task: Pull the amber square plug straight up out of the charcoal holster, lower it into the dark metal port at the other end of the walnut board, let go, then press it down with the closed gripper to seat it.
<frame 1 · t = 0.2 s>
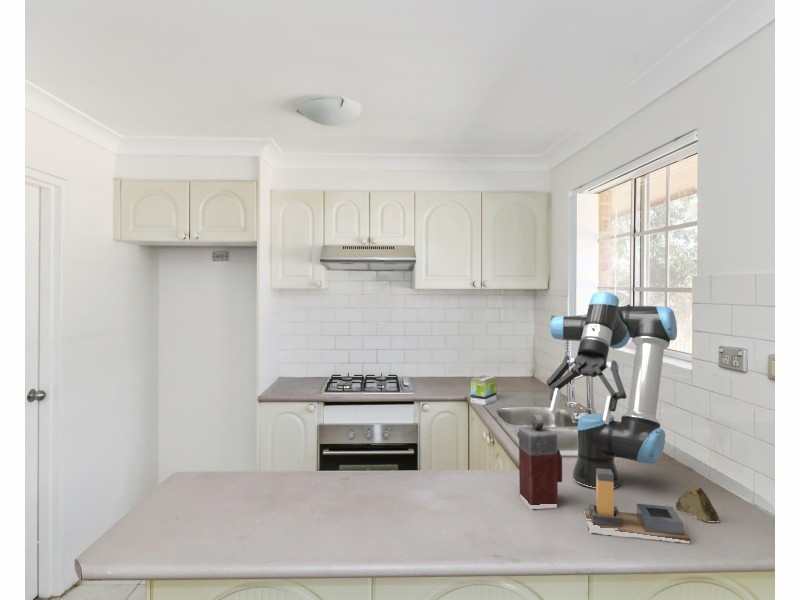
hand: (578, 417, 123), 35 cm above the worktop, tool tilted 35°, fingers open, 13 cm apart
red rectangular canister: (541, 503, 151), on the worktop
rock: (696, 516, 141), on the worktop
tea box: (483, 402, 284), on the worktop
plug: (605, 519, 136), point 1 cm above the worktop, touching board
port: (659, 525, 133), resting on board
board: (633, 527, 134), on the worktop
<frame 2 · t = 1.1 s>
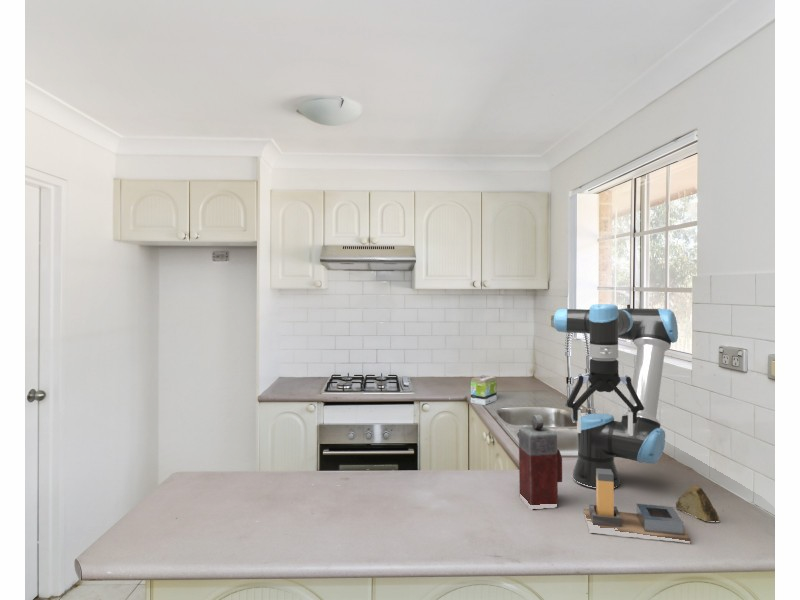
hand: (604, 433, 135), 27 cm above the worktop, tool pointing down, fingers open, 13 cm apart
nothing on the worktop moved.
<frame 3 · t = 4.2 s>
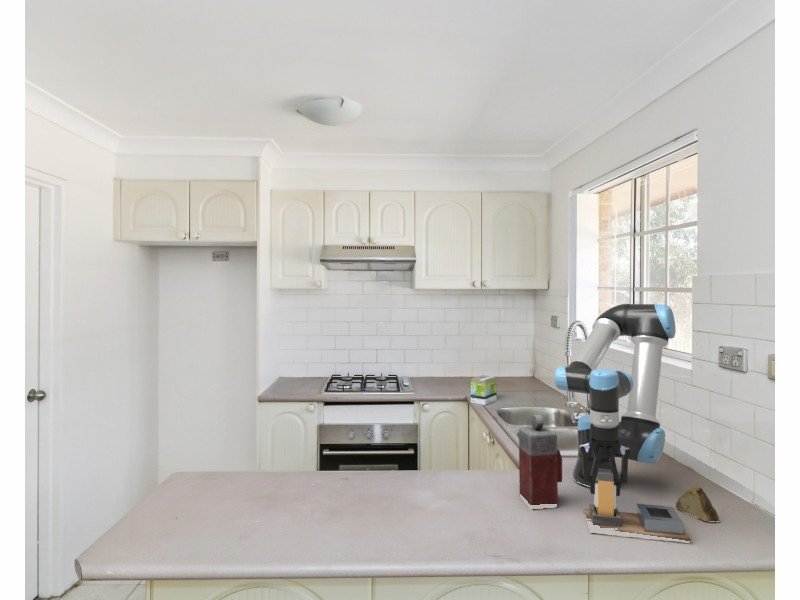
hand: (604, 505, 136), 6 cm above the worktop, tool pointing down, fingers closed on plug, 4 cm apart
plug: (605, 519, 136), point 2 cm above the worktop, touching board, gripper
everything else where it was.
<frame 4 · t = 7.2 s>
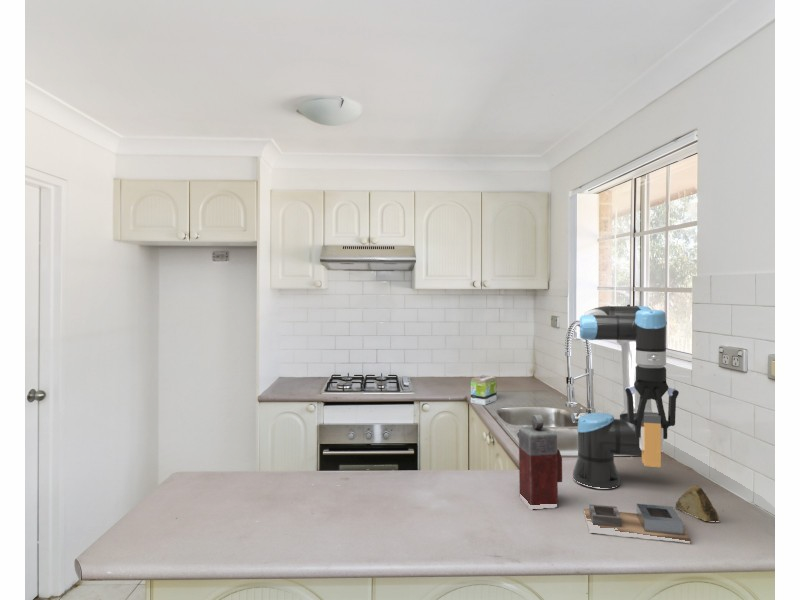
hand: (651, 449, 132), 23 cm above the worktop, tool pointing down, fingers closed on plug, 4 cm apart
plug: (651, 464, 132), point 19 cm above the worktop, touching gripper
everything else where it was.
when the fingers open (7 cm above the worktop, at t = 10.6 s): plug drops 1 cm, resting on board.
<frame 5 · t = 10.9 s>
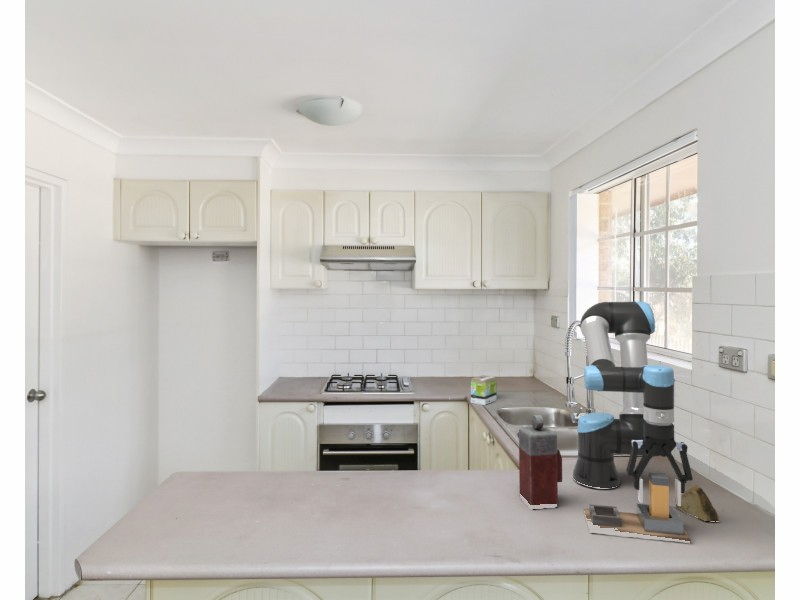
hand: (658, 502, 133), 8 cm above the worktop, tool pointing down, fingers open, 9 cm apart
plug: (658, 525, 133), point 2 cm above the worktop, touching board
everything else where it was.
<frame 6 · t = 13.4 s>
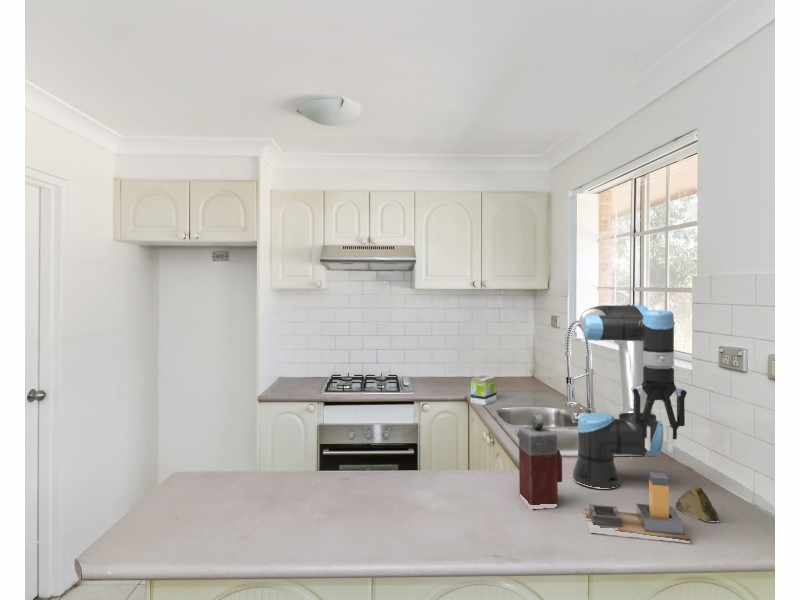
hand: (658, 449, 132), 23 cm above the worktop, tool pointing down, fingers open, 5 cm apart
nothing on the worktop moved.
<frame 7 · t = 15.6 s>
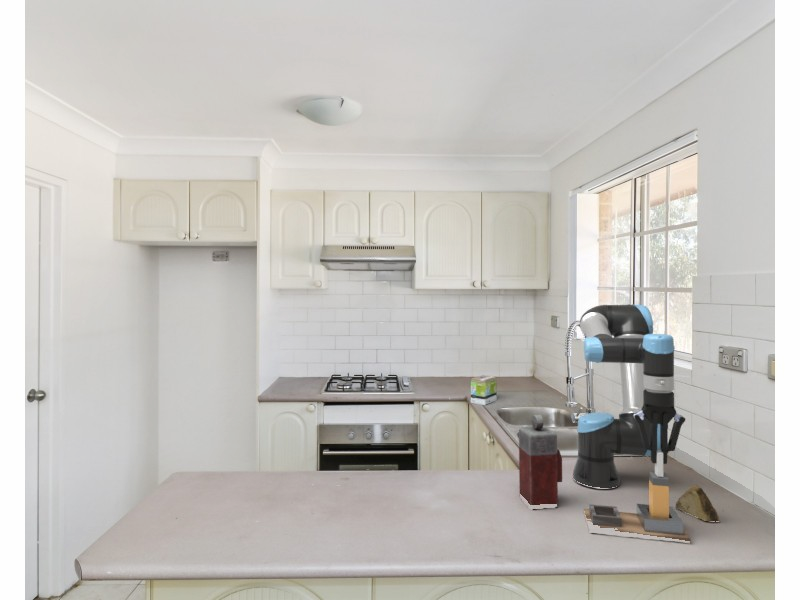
hand: (659, 474, 132), 16 cm above the worktop, tool pointing down, fingers closed
plug: (658, 525, 133), point 2 cm above the worktop, touching board, gripper
everything else where it was.
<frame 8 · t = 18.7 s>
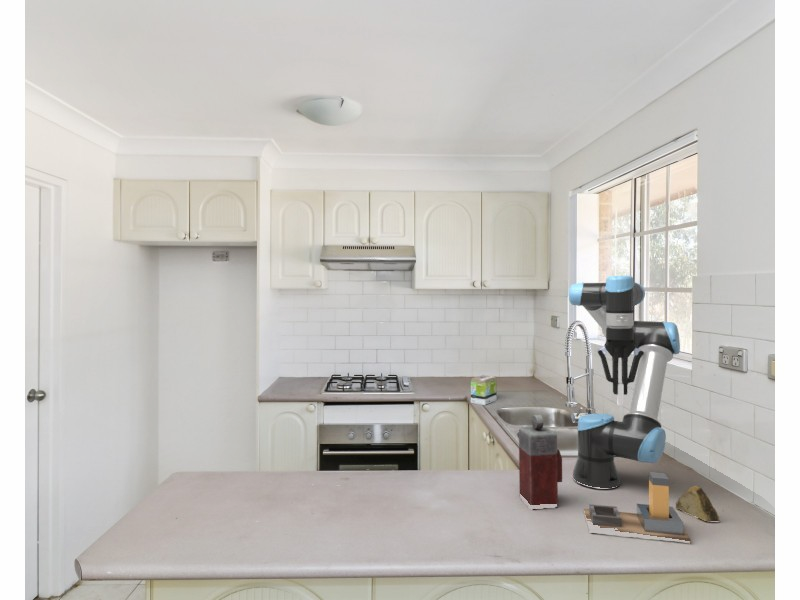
hand: (620, 405, 144), 32 cm above the worktop, tool pointing down, fingers closed
plug: (658, 525, 133), point 1 cm above the worktop, touching board
everything else where it was.
at the end: plug 0.0 cm off-centre on the port, point 0.0 cm above the port's base; plug tilted 0°; the gripper is holding nothing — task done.
